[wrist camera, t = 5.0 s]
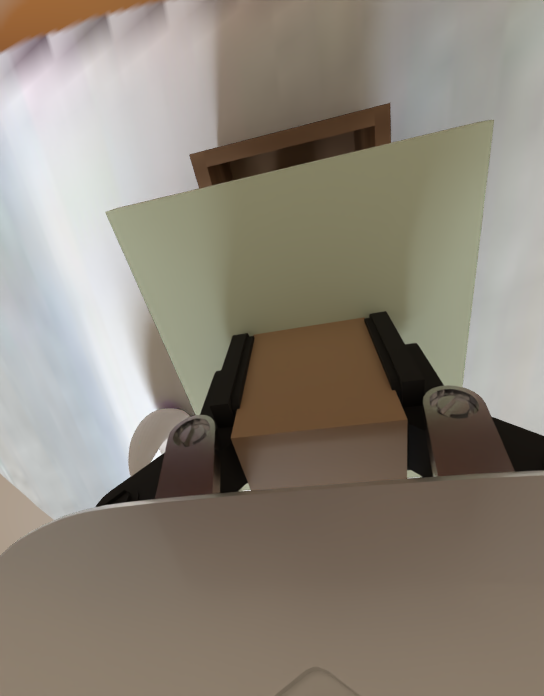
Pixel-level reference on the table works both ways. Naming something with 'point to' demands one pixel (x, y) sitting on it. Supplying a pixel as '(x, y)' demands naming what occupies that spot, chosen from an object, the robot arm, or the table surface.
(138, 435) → the toy
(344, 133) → the box
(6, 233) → the table surface
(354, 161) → the lid
